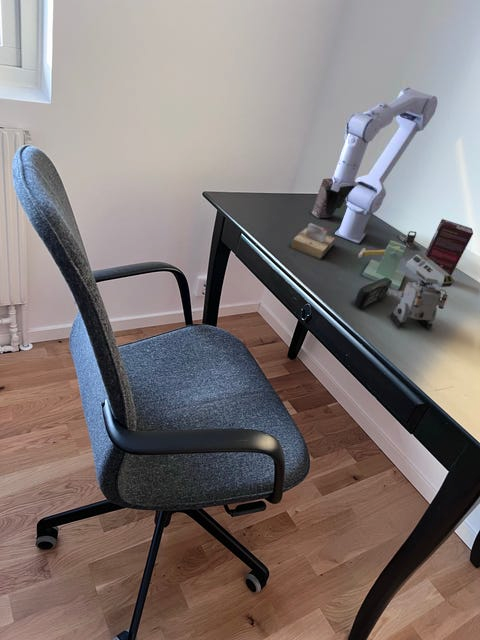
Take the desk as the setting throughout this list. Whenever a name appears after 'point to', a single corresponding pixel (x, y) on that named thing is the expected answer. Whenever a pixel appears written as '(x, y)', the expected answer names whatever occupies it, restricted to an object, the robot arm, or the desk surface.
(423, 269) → the figurine
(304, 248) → the panel
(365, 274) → the green lever mechanism
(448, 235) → the supplement box
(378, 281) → the dark grey piece
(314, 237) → the grey rectangular block
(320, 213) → the box
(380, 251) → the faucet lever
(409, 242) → the strap clip
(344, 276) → the desk surface
